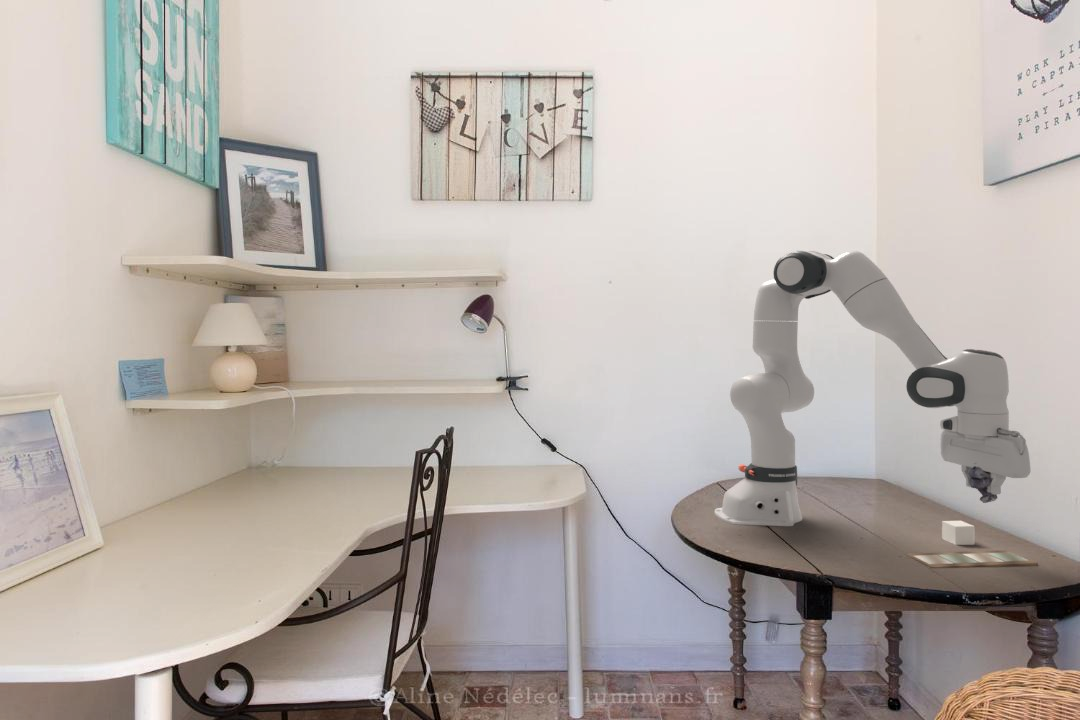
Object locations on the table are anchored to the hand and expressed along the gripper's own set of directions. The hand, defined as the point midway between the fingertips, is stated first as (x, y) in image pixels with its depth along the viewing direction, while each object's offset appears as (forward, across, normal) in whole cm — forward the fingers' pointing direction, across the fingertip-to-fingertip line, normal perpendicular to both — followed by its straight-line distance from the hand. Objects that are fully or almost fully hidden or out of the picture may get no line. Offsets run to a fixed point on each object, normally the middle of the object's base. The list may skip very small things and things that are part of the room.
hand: (982, 490), depth 130 cm
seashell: (+3, 0, 0) cm, 3 cm away
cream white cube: (+15, +12, -4) cm, 20 cm away
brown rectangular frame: (+15, 0, +3) cm, 15 cm away
